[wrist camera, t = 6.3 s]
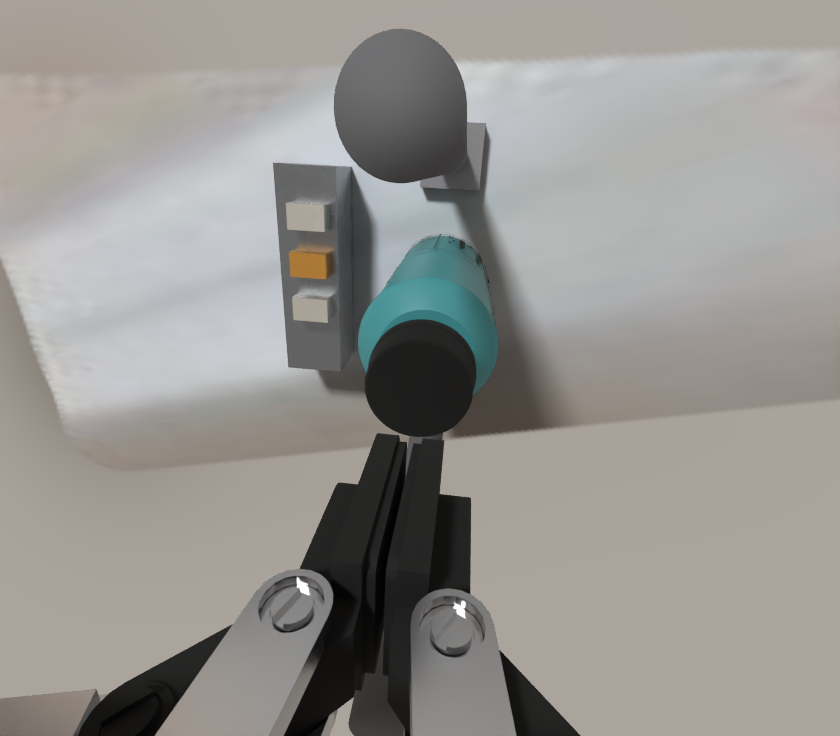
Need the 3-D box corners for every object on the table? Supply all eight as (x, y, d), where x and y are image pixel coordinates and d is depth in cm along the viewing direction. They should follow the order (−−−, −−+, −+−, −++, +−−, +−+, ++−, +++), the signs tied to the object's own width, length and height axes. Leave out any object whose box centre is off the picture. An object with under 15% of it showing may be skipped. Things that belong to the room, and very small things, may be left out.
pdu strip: (351, 166, 31) (330, 166, 26) (353, 351, 37) (336, 378, 32) (295, 163, 31) (265, 162, 27) (305, 347, 37) (282, 373, 32)
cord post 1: (485, 124, 29) (559, -62, 6) (478, 190, 31) (515, 255, 7) (424, 121, 30) (256, -68, 6) (421, 186, 31) (279, 239, 8)
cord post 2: (462, 349, 36) (454, 697, 12) (458, 393, 38) (443, 774, 14) (413, 345, 36) (312, 677, 13) (411, 389, 38) (318, 756, 14)
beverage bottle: (389, 298, 35) (304, 440, 17) (417, 214, 32) (352, 274, 14) (467, 327, 35) (467, 498, 17) (501, 247, 32) (545, 346, 14)
